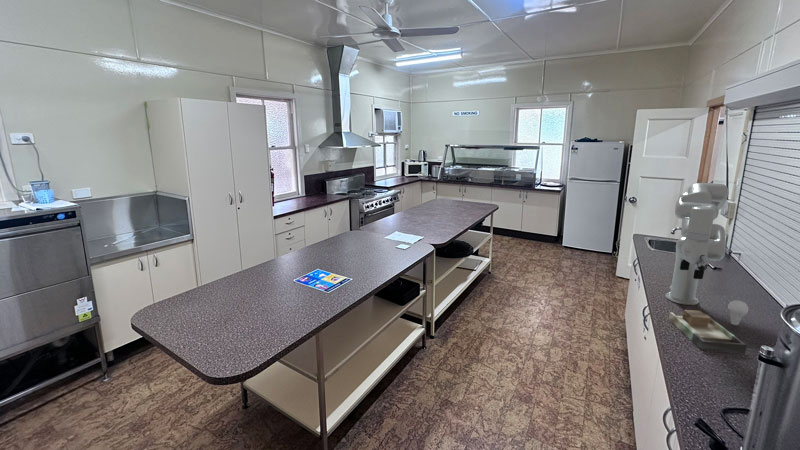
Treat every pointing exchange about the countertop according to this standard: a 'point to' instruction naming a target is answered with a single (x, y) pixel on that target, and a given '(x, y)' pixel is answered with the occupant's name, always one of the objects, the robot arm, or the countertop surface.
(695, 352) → the countertop surface
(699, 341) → the trap lane
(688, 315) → the walnut block
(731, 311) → the lightbulb
